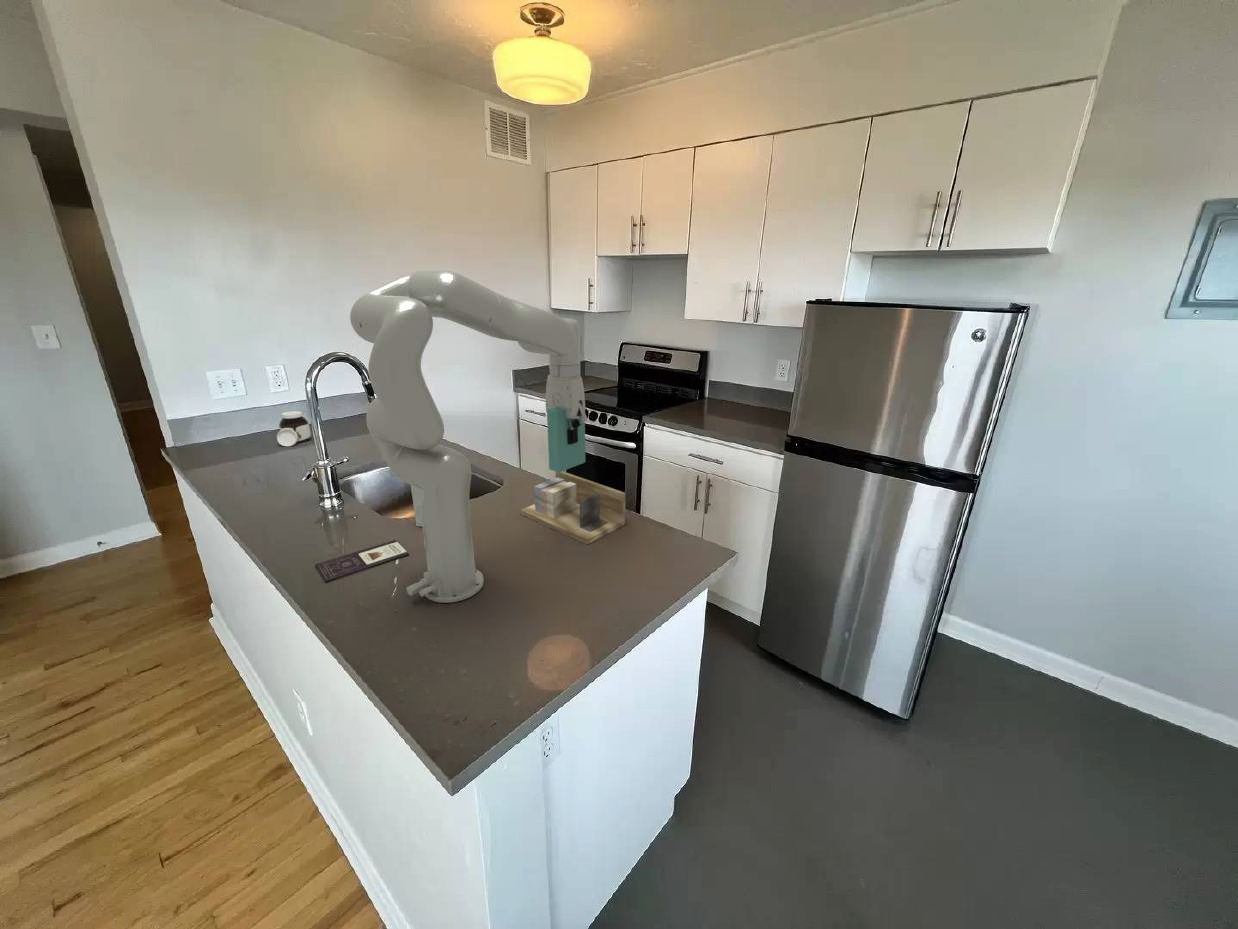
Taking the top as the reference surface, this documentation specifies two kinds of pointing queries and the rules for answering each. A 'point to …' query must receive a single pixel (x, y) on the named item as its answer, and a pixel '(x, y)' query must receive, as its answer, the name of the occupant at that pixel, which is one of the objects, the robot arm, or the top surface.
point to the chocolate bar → (360, 561)
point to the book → (563, 442)
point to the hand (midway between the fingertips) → (567, 441)
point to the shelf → (577, 507)
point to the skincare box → (417, 503)
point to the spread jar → (293, 429)
